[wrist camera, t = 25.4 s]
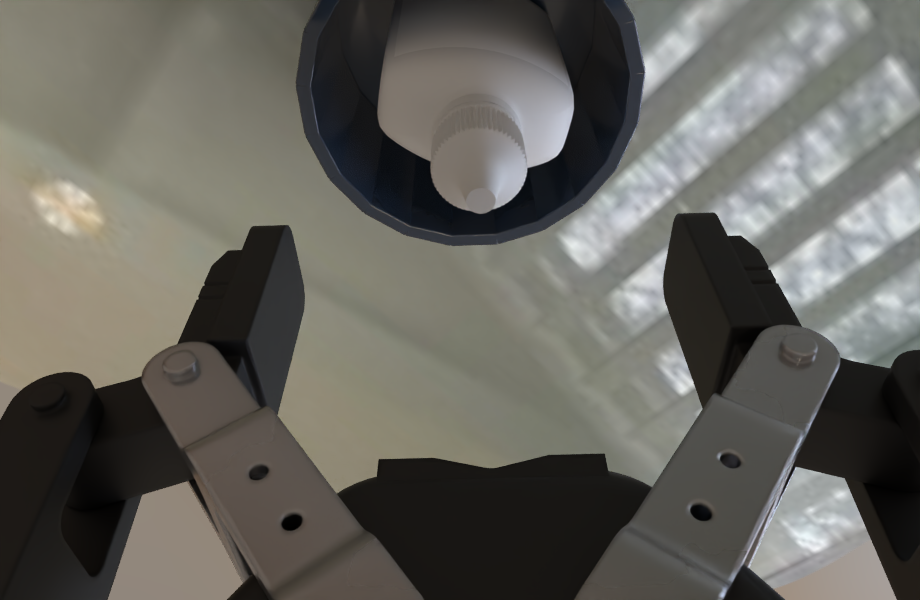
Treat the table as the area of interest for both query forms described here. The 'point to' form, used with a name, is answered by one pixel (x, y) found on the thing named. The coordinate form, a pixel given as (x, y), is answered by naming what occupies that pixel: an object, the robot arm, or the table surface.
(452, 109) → the eye dropper bottle
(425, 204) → the dark blue round container
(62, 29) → the table surface
